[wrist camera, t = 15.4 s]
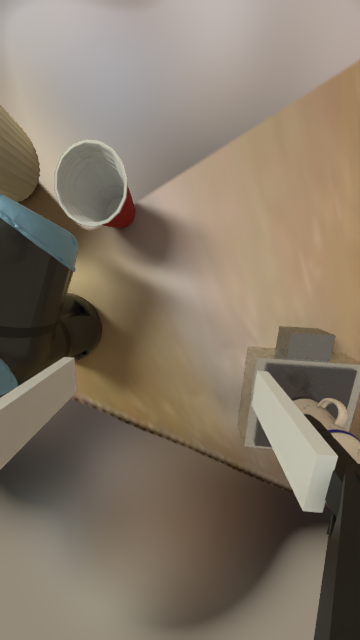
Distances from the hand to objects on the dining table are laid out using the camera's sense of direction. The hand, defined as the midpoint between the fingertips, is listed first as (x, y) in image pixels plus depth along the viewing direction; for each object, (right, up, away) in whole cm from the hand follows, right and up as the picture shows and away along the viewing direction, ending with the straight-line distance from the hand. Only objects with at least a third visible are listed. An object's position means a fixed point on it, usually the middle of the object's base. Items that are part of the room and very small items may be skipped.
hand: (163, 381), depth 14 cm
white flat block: (+26, -9, +30) cm, 40 cm away
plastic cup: (-11, +26, +24) cm, 37 cm away
